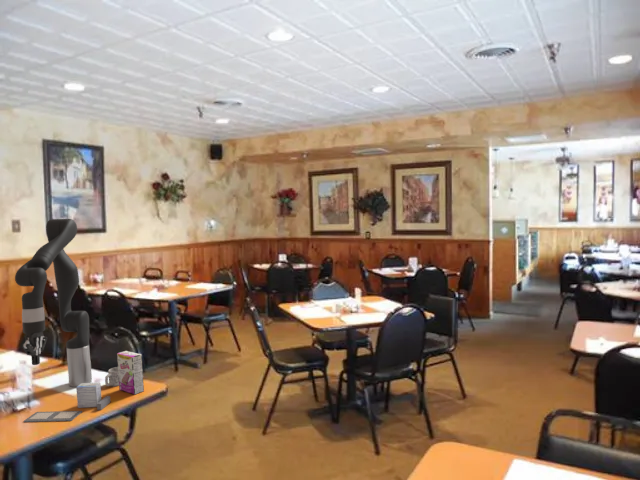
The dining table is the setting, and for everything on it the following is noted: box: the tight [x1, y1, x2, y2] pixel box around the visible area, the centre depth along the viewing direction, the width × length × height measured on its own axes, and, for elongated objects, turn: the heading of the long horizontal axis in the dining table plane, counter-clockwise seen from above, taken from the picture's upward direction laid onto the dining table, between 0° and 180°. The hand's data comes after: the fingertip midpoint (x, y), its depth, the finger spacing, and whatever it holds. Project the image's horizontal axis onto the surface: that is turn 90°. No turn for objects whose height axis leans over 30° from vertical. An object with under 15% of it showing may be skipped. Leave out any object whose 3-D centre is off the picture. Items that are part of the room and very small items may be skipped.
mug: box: [104, 366, 119, 387], centre depth 221 cm, size 10×7×7 cm
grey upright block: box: [75, 382, 103, 409], centre depth 198 cm, size 8×4×9 cm, turn 91°
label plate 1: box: [23, 410, 60, 423], centre depth 188 cm, size 8×9×1 cm
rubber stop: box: [96, 395, 111, 411], centre depth 197 cm, size 8×2×2 cm, turn 178°
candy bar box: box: [116, 350, 145, 395], centre depth 213 cm, size 11×5×16 cm, turn 56°
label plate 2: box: [47, 410, 83, 422], centre depth 188 cm, size 8×9×1 cm
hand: (36, 364), depth 190 cm, fingers closed
